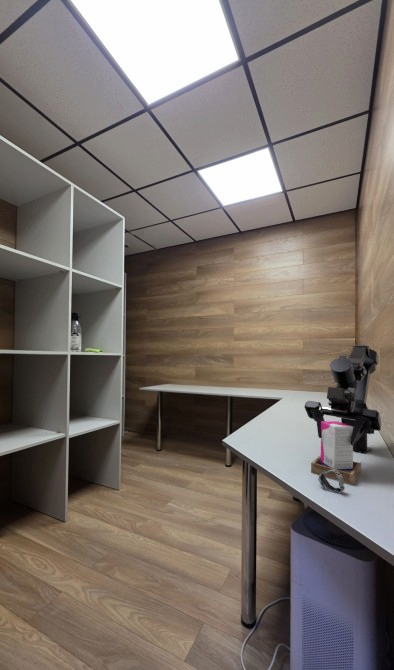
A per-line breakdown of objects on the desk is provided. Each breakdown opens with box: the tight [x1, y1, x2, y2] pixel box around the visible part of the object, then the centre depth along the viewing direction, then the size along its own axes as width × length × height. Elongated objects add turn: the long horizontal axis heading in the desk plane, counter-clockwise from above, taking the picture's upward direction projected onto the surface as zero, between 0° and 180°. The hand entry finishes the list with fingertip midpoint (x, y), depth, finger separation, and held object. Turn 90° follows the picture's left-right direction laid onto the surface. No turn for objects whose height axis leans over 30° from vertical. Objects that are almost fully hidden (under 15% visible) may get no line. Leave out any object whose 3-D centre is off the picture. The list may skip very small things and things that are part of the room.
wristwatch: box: [317, 469, 346, 494], centre depth 62 cm, size 3×5×5 cm
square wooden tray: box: [310, 454, 362, 486], centre depth 72 cm, size 10×10×2 cm
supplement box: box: [320, 420, 354, 471], centre depth 73 cm, size 6×6×12 cm
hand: (334, 440), depth 72 cm, fingers closed on supplement box, 7 cm apart
